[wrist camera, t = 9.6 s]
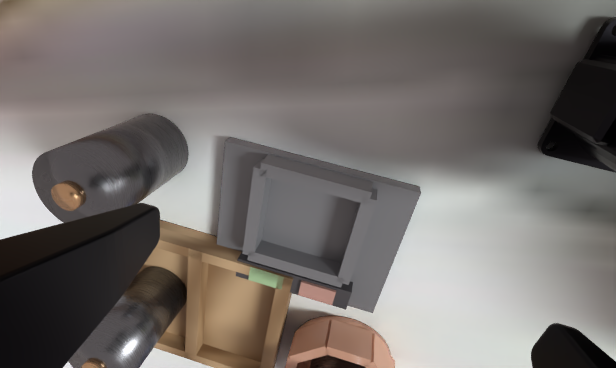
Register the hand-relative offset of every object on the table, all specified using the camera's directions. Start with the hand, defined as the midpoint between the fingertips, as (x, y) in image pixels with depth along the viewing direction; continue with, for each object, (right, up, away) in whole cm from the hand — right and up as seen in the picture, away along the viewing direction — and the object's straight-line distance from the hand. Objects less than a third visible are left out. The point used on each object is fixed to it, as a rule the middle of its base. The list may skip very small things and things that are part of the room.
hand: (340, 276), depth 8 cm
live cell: (-13, -6, +20) cm, 24 cm away
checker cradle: (-1, -1, +15) cm, 15 cm away
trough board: (-9, -7, +20) cm, 23 cm away
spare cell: (-11, +5, +15) cm, 19 cm away
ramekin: (+2, -12, +20) cm, 23 cm away
